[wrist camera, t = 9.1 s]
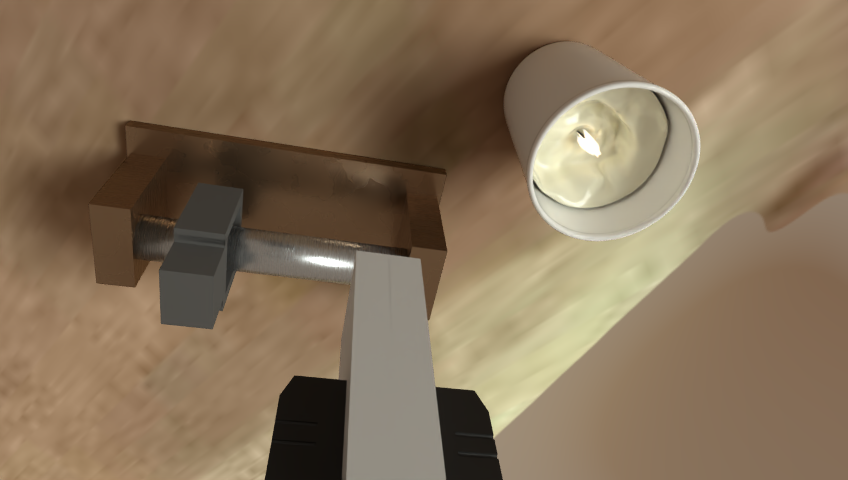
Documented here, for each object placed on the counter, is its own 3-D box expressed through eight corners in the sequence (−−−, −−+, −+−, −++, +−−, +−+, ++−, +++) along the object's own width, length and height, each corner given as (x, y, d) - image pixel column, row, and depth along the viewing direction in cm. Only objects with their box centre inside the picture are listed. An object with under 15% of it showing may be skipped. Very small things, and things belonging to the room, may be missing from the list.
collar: (198, 182, 41) (158, 255, 33) (243, 189, 42) (214, 262, 34) (198, 254, 44) (161, 336, 37) (239, 259, 45) (212, 341, 37)
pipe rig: (130, 120, 42) (79, 174, 35) (445, 169, 46) (458, 227, 39) (136, 238, 48) (93, 307, 40) (420, 273, 51) (427, 342, 44)
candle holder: (499, 169, 47) (534, 255, 36) (485, 43, 41) (521, 102, 31) (624, 146, 46) (694, 226, 36) (626, 16, 41) (708, 66, 31)
